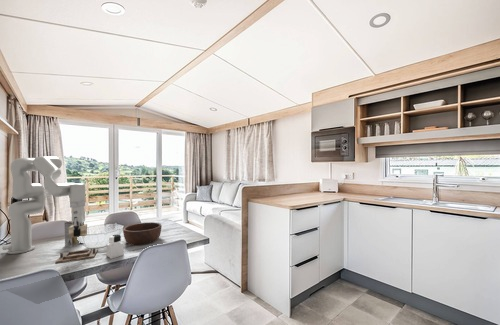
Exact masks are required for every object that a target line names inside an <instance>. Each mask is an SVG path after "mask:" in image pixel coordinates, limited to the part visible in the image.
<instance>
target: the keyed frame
mask: <svg viewBox="0 0 500 325" xmlns="http://www.w3.org/2000/svg"><path fill="white" fill-rule="evenodd" d="M98 252H99V249H98V248H95V247H94V248H88V249H80V250H73V251H67V252H65V253H64V252H60V253H59V257H58V258H57V260H55V261H54V262H55V264H60V263H67V262H68V263H69V262H74V261H83V260H88V259H95V256H96V255H97V253H98Z"/></svg>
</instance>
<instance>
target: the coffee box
mask: <svg viewBox="0 0 500 325" xmlns="http://www.w3.org/2000/svg"><path fill="white" fill-rule="evenodd" d="M82 224H85V221H84V222H83V223H82ZM72 225H73V224H72V220H69V221H65V222H64V247H75V246H77V245H80V243H79V241H78V240H77V237H71V238H69V227H70V226H72Z"/></svg>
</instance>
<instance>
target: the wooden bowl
mask: <svg viewBox="0 0 500 325" xmlns="http://www.w3.org/2000/svg"><path fill="white" fill-rule="evenodd" d="M122 232H123V238H124V240H125V243H127V244H129V245H131V246H143V245H149V244H152V243H154V242H156V241H158V239H159V238H160V236H161V233H162V224H161V223H159V222H153V221H152V222H151V221H149V222H139V223H138V222H137V223H134V224H130V225H127V226H124V228H122Z"/></svg>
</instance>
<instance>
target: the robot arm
mask: <svg viewBox="0 0 500 325" xmlns="http://www.w3.org/2000/svg"><path fill="white" fill-rule="evenodd" d="M62 162H63V161H62V160H61V159H60V158H59V157H57V156H45V155H43V156H42V155H40V156H37V157H20V158H19V157H18V158H15V159H13V160H12V162H11V164H10V173H11V176H12V188H11V189H12V190H11V191H12V197H13V199H15V200H18V201H16V202H12V203H11V204H10V205H9V206H8V209H7V210H8V214H9V219H10V244H9V245H3V246H2V248H1V249H2V250H3V251H5V250H7V252H6V253H7V254H8V255H17V254H23V253H28V252H31V251H33V250H35V248H36V246H35V245H32V230H33V228H32V220H31V219H30V217H28V216H29V215H34V214H35V215H36V214H39V213H42V212H44V209H45V201H46V200H45V197H46V196H45V195H46V194H45V193H46V191H47V193H48V194H50V195H51V196H52V197H55V198H59V197H67V196H69V208H71V221H72V224H73V225H74V237H75V236H80V225H82V223H83V222H84V223H85V221H86V211H85V207H86V206H87V204H86V198H87V197H86V184H85V183H83V182H82V183H81V182H79V183H75V182H65V183H57V182H56V181H55V180H57V179H58V178H59V177H60V176H61V175H62V170H61V167H62V165H63V163H62ZM29 172H38V173H40V174H41V176H42V177H44V179H43V184H41V183H36V182H33V183H32V176H31V175H30V173H29ZM45 190H46V191H45ZM26 199H27V200H26ZM19 200H21V201H19Z"/></svg>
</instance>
